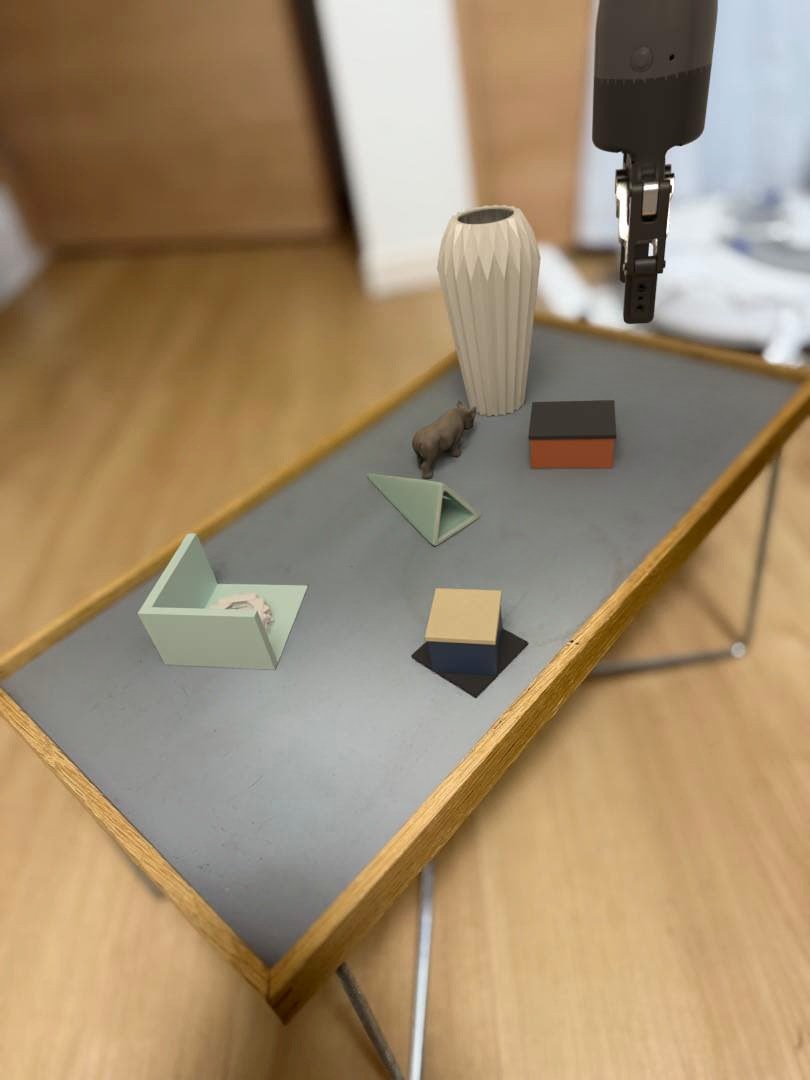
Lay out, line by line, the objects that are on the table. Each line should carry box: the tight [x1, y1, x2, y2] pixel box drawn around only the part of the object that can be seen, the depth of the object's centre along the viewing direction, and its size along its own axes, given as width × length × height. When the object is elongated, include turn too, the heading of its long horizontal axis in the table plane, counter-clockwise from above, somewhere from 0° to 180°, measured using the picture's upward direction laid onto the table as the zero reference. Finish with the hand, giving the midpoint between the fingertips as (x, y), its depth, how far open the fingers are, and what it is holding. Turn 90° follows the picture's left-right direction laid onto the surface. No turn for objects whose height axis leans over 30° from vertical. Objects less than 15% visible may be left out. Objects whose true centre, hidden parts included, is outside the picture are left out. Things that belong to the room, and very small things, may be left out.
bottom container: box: [527, 399, 617, 469], centre depth 90 cm, size 10×8×5 cm
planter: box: [366, 473, 481, 547], centre depth 86 cm, size 8×6×18 cm
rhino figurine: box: [411, 400, 477, 479], centre depth 93 cm, size 4×14×6 cm, turn 141°
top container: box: [424, 587, 503, 676], centre depth 66 cm, size 6×6×5 cm
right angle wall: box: [137, 532, 309, 671], centre depth 73 cm, size 12×12×8 cm
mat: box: [410, 627, 529, 699], centre depth 67 cm, size 8×8×1 cm
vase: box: [436, 204, 542, 418], centre depth 95 cm, size 13×13×26 cm
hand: (635, 300), depth 57 cm, fingers open, 8 cm apart
